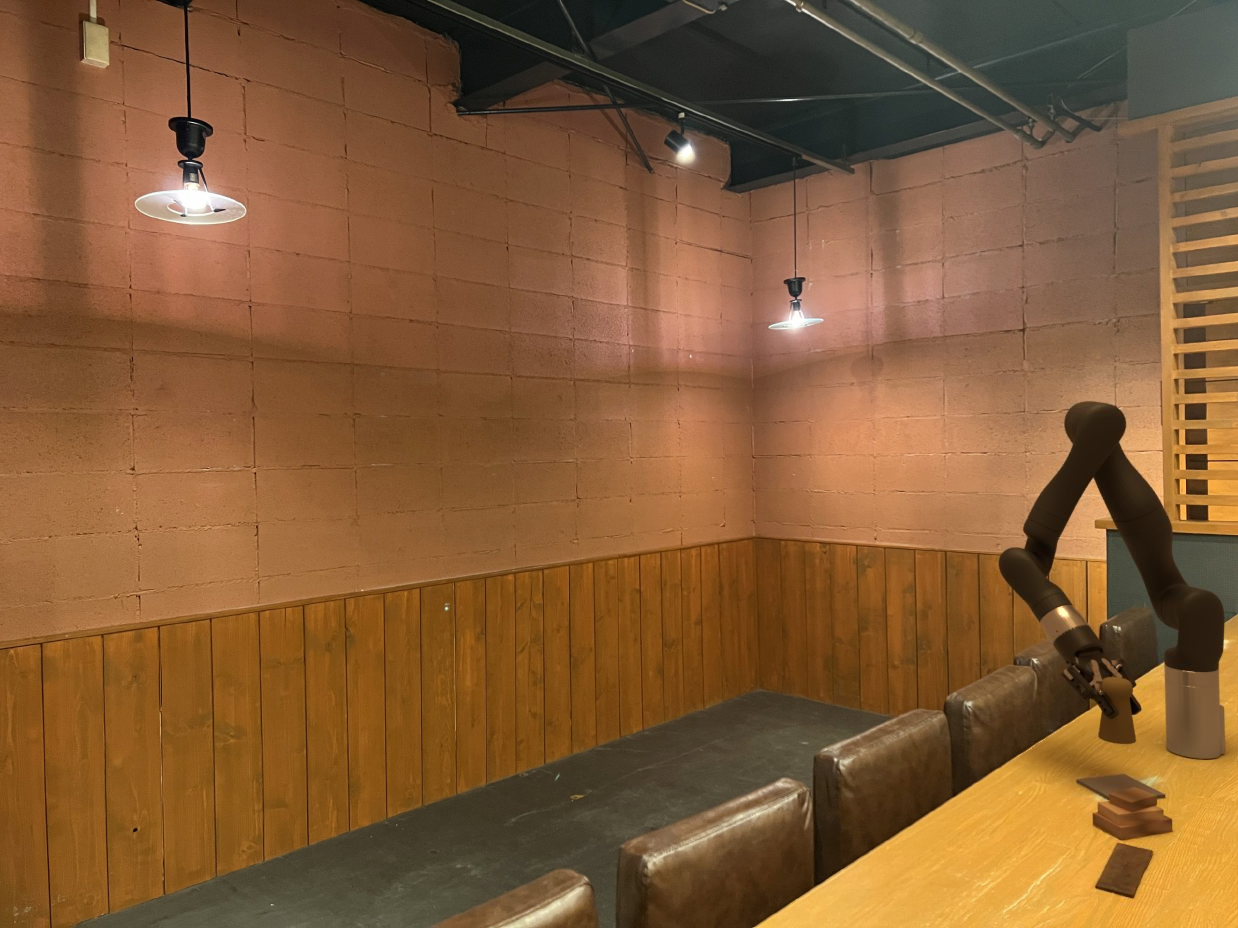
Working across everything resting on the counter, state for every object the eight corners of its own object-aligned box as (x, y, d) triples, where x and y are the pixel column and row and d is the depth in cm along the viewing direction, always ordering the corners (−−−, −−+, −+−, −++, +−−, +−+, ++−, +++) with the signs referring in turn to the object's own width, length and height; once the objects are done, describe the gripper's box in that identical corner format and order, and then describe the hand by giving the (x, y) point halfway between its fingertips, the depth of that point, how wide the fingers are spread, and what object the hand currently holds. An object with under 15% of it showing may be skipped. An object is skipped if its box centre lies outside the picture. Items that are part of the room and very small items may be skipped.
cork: (1132, 734, 162) (1131, 674, 162) (1139, 745, 157) (1139, 683, 156) (1095, 731, 164) (1094, 672, 164) (1101, 742, 158) (1100, 681, 158)
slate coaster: (1124, 776, 166) (1124, 773, 166) (1165, 797, 156) (1165, 794, 156) (1076, 782, 165) (1076, 778, 165) (1114, 803, 155) (1114, 800, 155)
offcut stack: (1142, 816, 149) (1141, 784, 149) (1173, 831, 143) (1172, 798, 143) (1092, 824, 147) (1091, 792, 147) (1122, 840, 141) (1121, 806, 141)
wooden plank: (1116, 839, 140) (1153, 846, 136) (1117, 848, 140) (1153, 854, 136) (1094, 885, 127) (1134, 893, 124) (1095, 894, 127) (1135, 902, 124)
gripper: (1052, 627, 164) (1108, 709, 153) (1110, 619, 169) (1169, 699, 158) (1030, 649, 170) (1083, 730, 159) (1087, 641, 174) (1142, 719, 163)
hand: (1125, 714), depth 158 cm, fingers closed on cork, 5 cm apart
